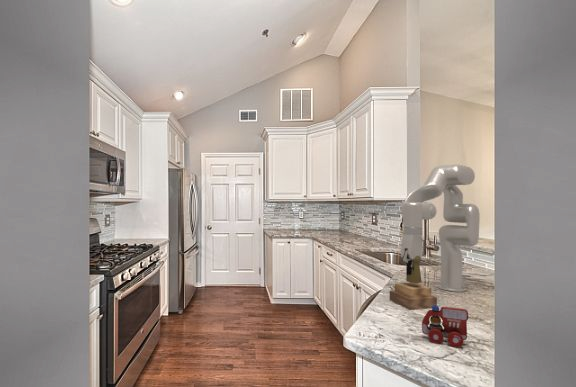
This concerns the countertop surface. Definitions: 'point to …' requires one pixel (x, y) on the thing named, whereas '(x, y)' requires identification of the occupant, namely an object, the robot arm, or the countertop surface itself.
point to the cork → (415, 271)
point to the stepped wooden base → (413, 296)
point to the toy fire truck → (446, 325)
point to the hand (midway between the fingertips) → (412, 275)
